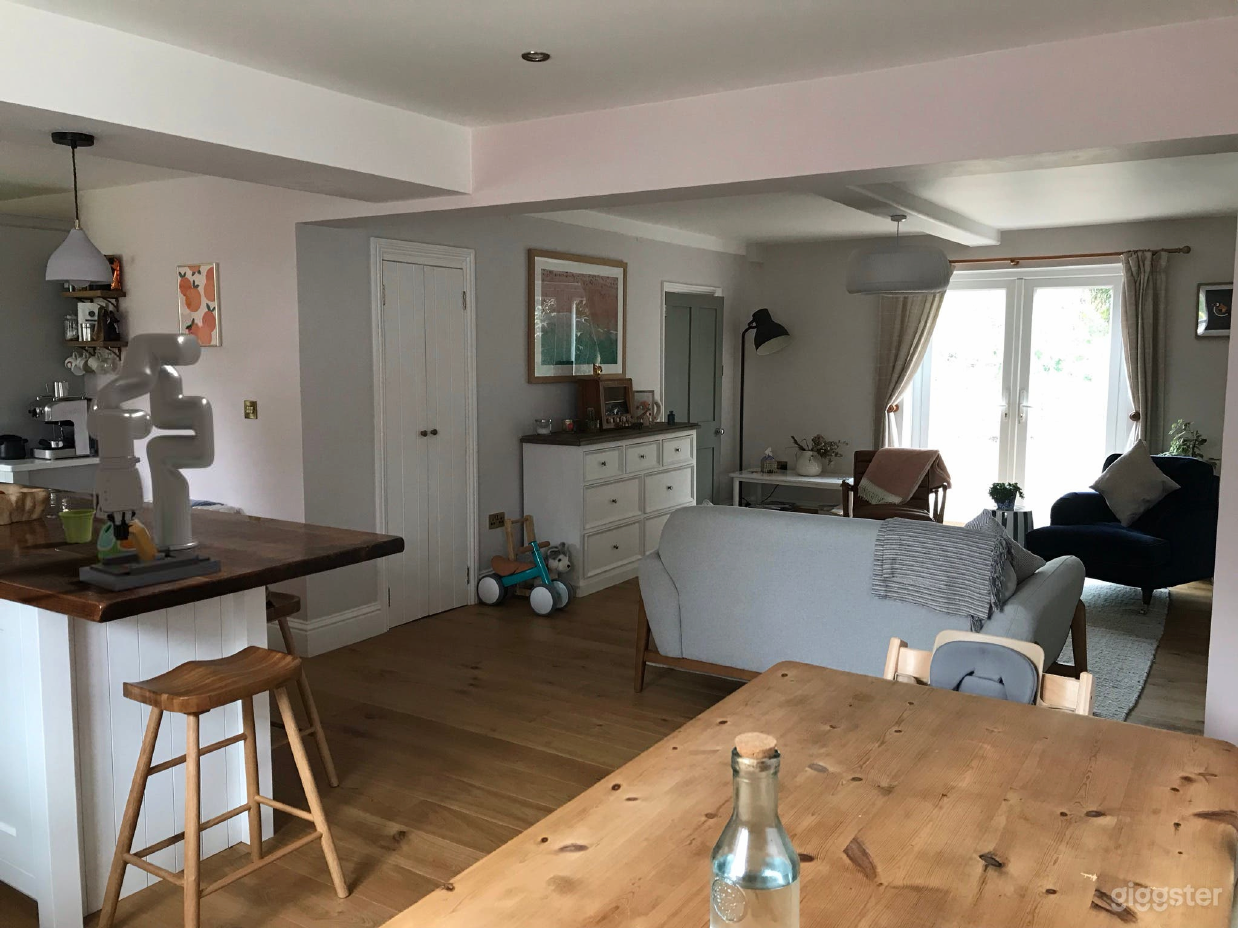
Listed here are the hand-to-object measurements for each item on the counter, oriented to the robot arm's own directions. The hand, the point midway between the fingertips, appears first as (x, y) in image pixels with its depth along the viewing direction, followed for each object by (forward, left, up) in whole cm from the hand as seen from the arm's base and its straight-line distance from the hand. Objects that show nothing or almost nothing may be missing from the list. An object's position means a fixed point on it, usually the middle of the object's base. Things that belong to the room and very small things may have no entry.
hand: (121, 539), depth 235 cm
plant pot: (-60, +16, -10) cm, 63 cm away
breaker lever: (0, +7, -6) cm, 9 cm away
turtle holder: (-19, +9, -10) cm, 23 cm away
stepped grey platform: (0, +7, -7) cm, 10 cm away
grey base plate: (0, +7, -10) cm, 12 cm away
